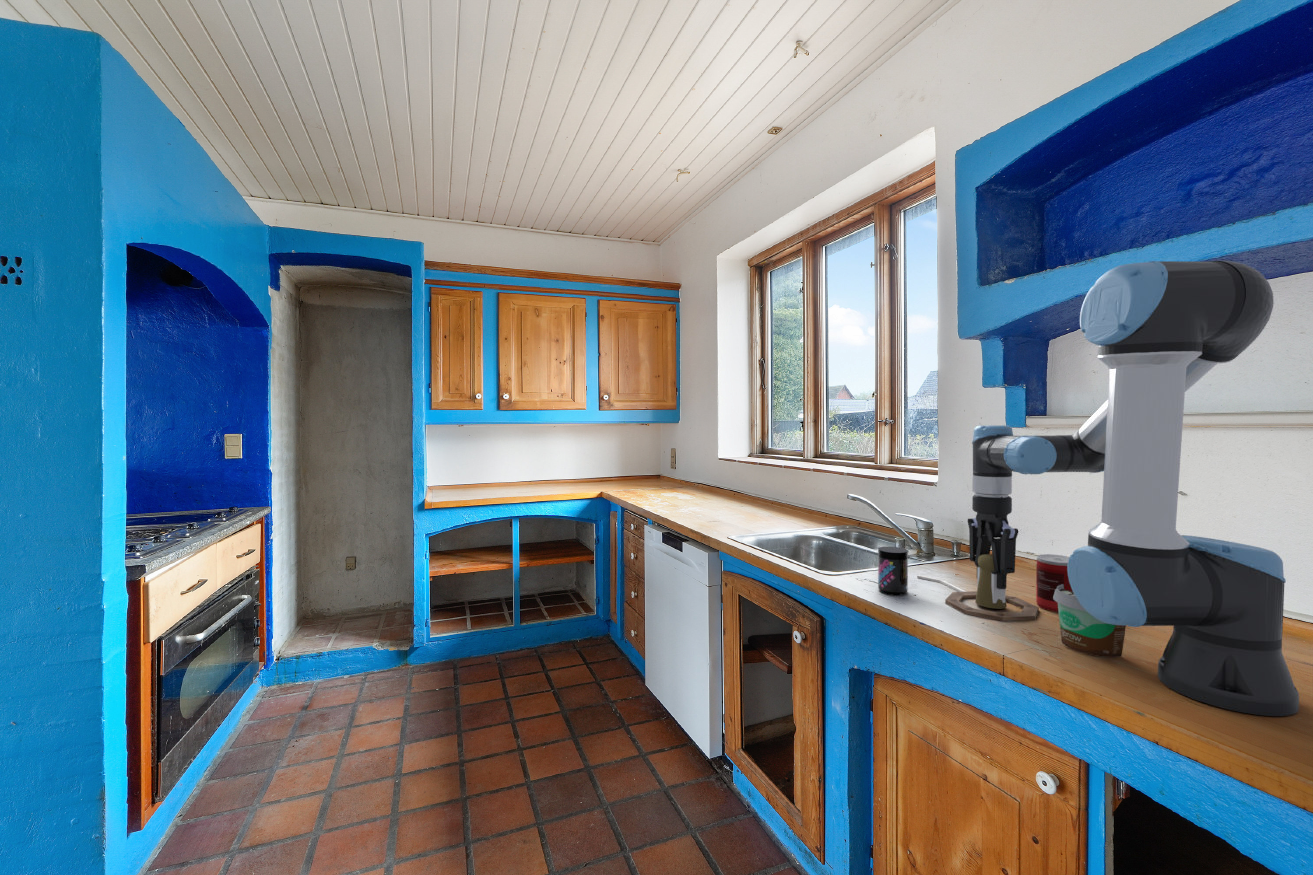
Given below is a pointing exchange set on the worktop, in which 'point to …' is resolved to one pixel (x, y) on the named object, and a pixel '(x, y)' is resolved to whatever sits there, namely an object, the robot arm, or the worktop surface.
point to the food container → (1086, 628)
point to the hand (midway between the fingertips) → (990, 598)
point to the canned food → (1050, 579)
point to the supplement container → (893, 570)
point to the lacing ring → (1026, 614)
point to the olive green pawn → (986, 584)
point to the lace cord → (941, 582)
